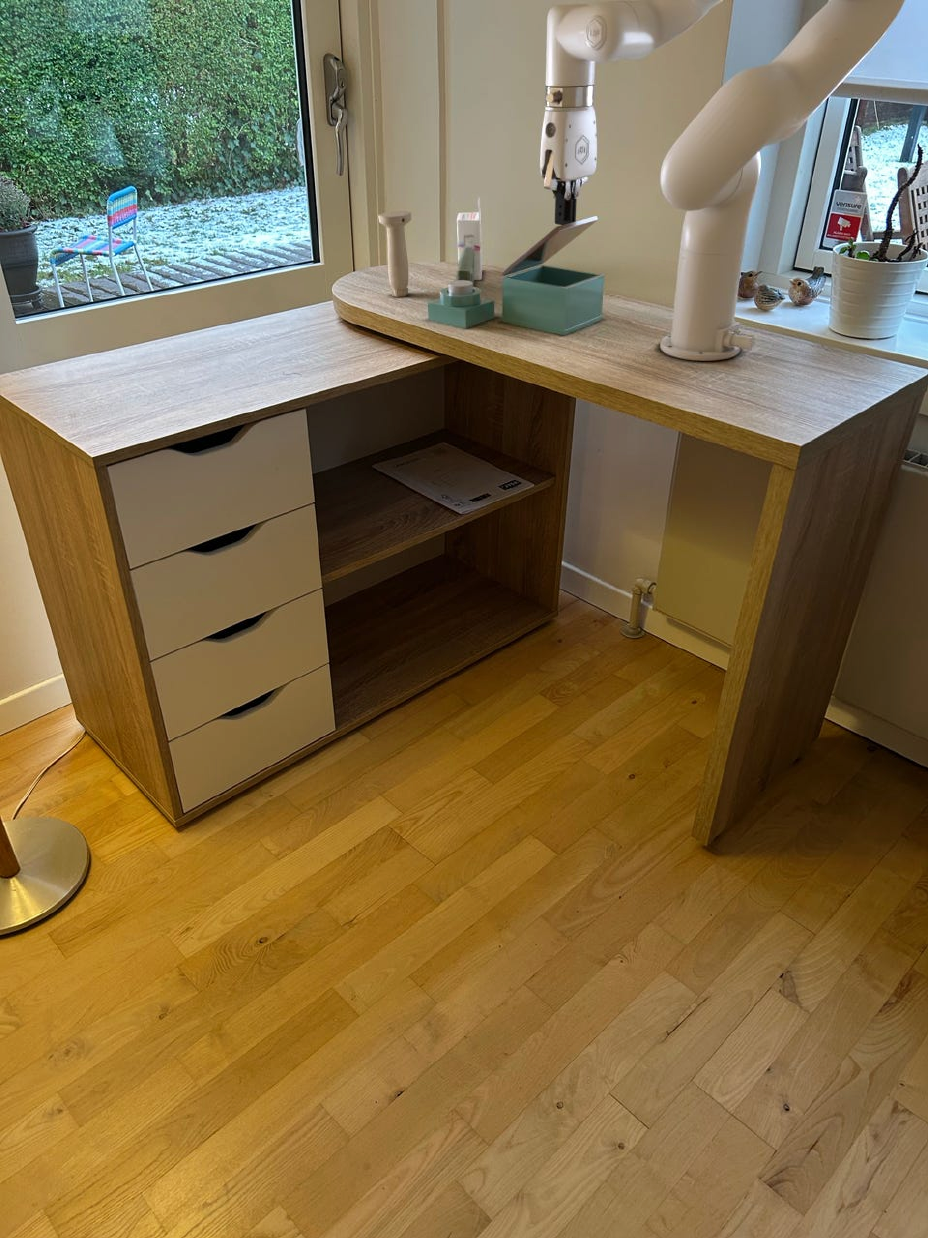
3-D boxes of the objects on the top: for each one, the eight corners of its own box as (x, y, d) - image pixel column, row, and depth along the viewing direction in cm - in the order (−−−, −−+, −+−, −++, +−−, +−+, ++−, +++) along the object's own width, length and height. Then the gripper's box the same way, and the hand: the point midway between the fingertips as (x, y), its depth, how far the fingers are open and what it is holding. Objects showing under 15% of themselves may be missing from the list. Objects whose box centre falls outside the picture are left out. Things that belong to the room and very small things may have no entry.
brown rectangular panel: (598, 219, 155) (596, 215, 155) (558, 230, 148) (556, 226, 148) (543, 263, 166) (540, 259, 166) (503, 276, 159) (501, 272, 159)
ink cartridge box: (459, 270, 196) (457, 196, 188) (482, 270, 196) (481, 195, 188) (457, 280, 189) (455, 203, 181) (481, 279, 189) (480, 202, 180)
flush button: (478, 292, 163) (477, 282, 162) (462, 297, 160) (461, 287, 160) (459, 288, 166) (459, 278, 165) (443, 293, 163) (443, 283, 162)
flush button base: (494, 318, 166) (494, 289, 163) (465, 328, 161) (465, 299, 158) (457, 310, 171) (456, 282, 168) (428, 320, 166) (427, 291, 163)
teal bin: (601, 319, 163) (604, 274, 159) (564, 335, 156) (565, 288, 152) (540, 307, 171) (541, 264, 166) (502, 322, 163) (502, 276, 159)
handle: (419, 294, 181) (415, 212, 173) (395, 300, 177) (390, 217, 169) (404, 290, 184) (399, 209, 176) (379, 296, 180) (373, 214, 172)
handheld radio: (454, 306, 173) (461, 274, 193) (471, 307, 173) (477, 275, 193) (454, 269, 169) (462, 241, 190) (472, 270, 169) (477, 241, 190)
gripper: (560, 103, 136) (557, 234, 146) (615, 95, 145) (608, 219, 156) (521, 101, 140) (520, 229, 150) (577, 94, 150) (572, 214, 160)
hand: (565, 223), depth 153 cm, fingers closed
